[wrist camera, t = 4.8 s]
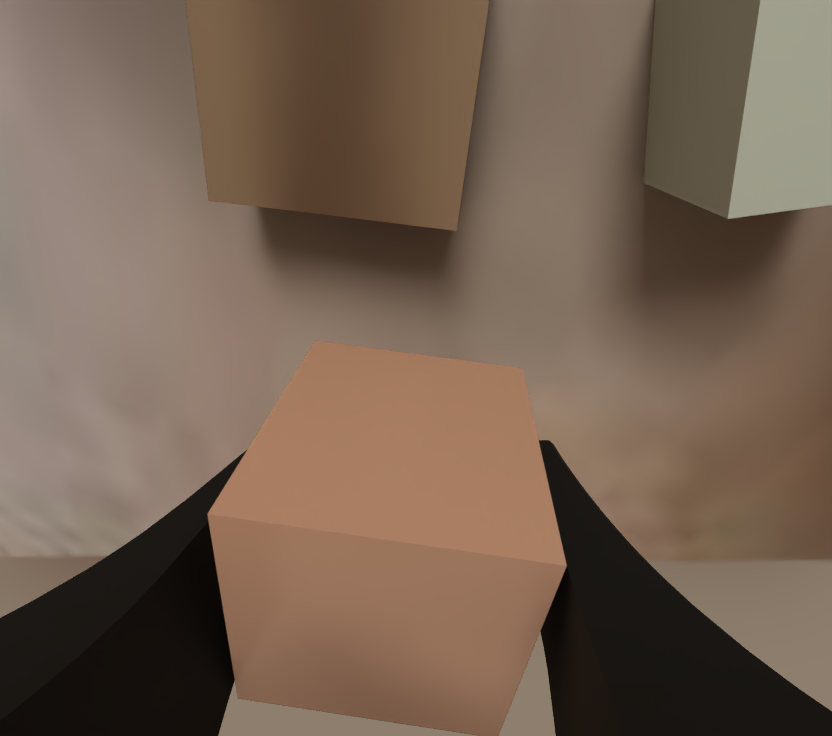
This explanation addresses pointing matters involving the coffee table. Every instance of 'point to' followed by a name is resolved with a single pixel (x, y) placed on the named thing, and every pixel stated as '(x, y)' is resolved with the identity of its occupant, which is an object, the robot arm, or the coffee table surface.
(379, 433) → the terracotta cube
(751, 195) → the sage cube
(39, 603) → the robot arm
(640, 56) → the coffee table surface
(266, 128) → the walnut base
